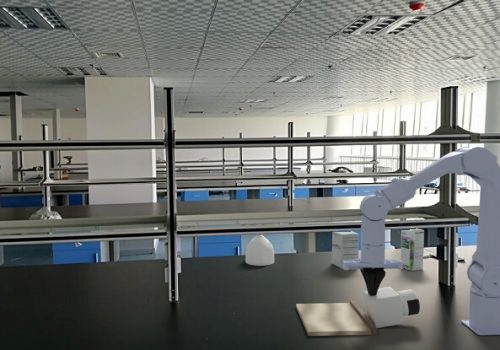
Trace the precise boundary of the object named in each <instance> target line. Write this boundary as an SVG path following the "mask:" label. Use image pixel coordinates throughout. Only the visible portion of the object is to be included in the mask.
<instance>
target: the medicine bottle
mask: <svg viewBox="0 0 500 350" xmlns="http://www.w3.org/2000/svg"><path fill="white" fill-rule="evenodd" d="M363 296H364V303H365V308H366V315H367V316H368V317H369V319H370V320H371V321H372V322H373V324H374V325H375V326H376V329H380V328H386V327H391V326H397V325H403V324H404V323H405V320H404V317H409V316H413V315H414V316H415V315H419V313H420V308H421V305H420V299H419V297H418V295H417V293H416V292H415V290H413V289H411V288H409V289H404V290H398V291H395V290H394V289H393V288H392V287H391V286H385V287H379V289H378V292H377V295H375V296H370V295H369V294H368V291H367V290H363Z"/></svg>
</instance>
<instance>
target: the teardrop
mask: <svg viewBox="0 0 500 350" xmlns="http://www.w3.org/2000/svg"><path fill="white" fill-rule="evenodd" d="M245 263H246V264H248V265H251V266H263V267H264V266H269V265H273V264H274V263H275V250H274V246H273V244H272V243H271V241H269V239H268V238H266V237H265V236H264V235H263V234H262V235H259V236H257V235H255V237H253V238H251V240H250V241H249V243H248V244H247V245H246V248H245Z"/></svg>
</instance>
